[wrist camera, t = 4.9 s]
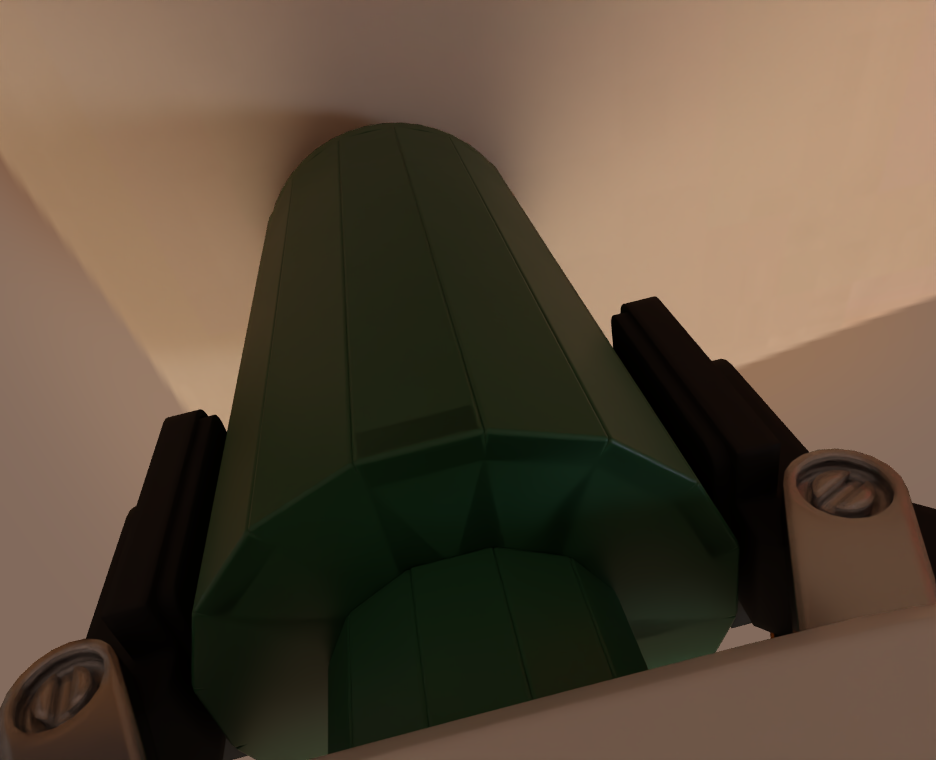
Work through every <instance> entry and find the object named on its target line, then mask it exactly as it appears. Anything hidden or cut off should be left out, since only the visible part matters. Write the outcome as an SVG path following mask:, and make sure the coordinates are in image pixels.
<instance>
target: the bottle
mask: <svg viewBox="0 0 936 760" xmlns="http://www.w3.org/2000/svg"><path fill="white" fill-rule="evenodd" d="M739 558H740V547H739V543H738V540H737V539H736V537H735V536H734V534H733V533H732V531H731V529H730V528H729V526H728V525H727V523H726V522H725V520H724V519H723V517H722V515H721V514H720V512H719V511H718V509H717V508H716V506H715V505H714V503H713V501H712V500H711V498H710V497H709V495H708V494H707V492H706V491H705V489H704V487H703V486H702V484H701V483H700V481H699V480H698V478H697V477H696V475H695V474H694V472H693V470H692V469H691V467H690V466H689V464H688V463H687V461H686V460H685V458H684V457H683V455H682V454H681V452H680V450H679V449H678V447H677V446H676V444H675V443H674V441H673V440H672V438H671V437H670V435H669V434H668V432H667V430H666V429H665V427H664V426H663V424H662V423H661V421H660V420H659V418H658V417H657V415H656V414H655V412H654V410H653V409H652V407H651V406H650V404H649V403H648V401H647V400H646V398H645V397H644V395H643V394H642V392H641V390H640V389H639V387H638V386H637V384H636V383H635V381H634V380H633V378H632V377H631V375H630V374H629V372H628V370H627V369H626V367H625V366H624V364H623V363H622V361H621V360H620V358H619V357H618V355H617V354H616V352H615V350H614V349H613V347H612V346H611V344H610V343H609V341H608V340H607V338H606V337H605V335H604V334H603V332H602V330H601V329H600V327H599V326H598V324H597V323H596V321H595V320H594V318H593V317H592V315H591V314H590V312H589V310H588V309H587V307H586V306H585V304H584V303H583V301H582V300H581V298H580V297H579V295H578V294H577V292H576V290H575V289H574V287H573V286H572V284H571V283H570V281H569V280H568V278H567V277H566V275H565V274H564V272H563V270H562V269H561V267H560V266H559V264H558V263H557V261H556V260H555V258H554V257H553V255H552V254H551V252H550V250H549V249H548V247H547V246H546V244H545V243H544V241H543V240H542V238H541V237H540V235H539V234H538V232H537V230H536V229H535V227H534V226H533V224H532V223H531V221H530V220H529V218H528V217H527V215H526V214H525V212H524V211H523V209H522V207H521V206H520V204H519V203H518V201H517V200H516V198H515V197H514V195H513V194H512V192H511V191H510V189H509V187H508V186H507V184H506V183H505V181H504V180H503V178H502V177H501V175H500V174H499V172H498V171H497V169H496V167H495V166H493V164H492V163H490V162H489V161H488V160H487V159H486V158H485V157H484V156H483V155H482V154H481V153H479V152H478V151H477V150H475V149H474V148H473V147H471V146H470V145H469V144H467V143H466V142H464V141H462V140H460V139H458V138H457V137H455V136H453V135H451V134H448V133H446V132H443V131H441V130H438V129H435V128H431V127H427V126H423V125H418V124H408V123H382V124H376V125H370V126H364V127H361V128H358V129H355V130H352V131H348V132H346V133H344V134H342V135H340V136H337V137H335V138H333V139H331V140H330V141H328V142H326V143H325V144H323V145H322V146H320V147H319V148H317V149H316V150H315V151H314V152H312V153H311V154H310V155H309V156H308V157H307V158H306V159H304V160H303V161H302V162H301V164H300V165H299V166H298V167H297V168H296V169H295V170H294V172H293V173H292V174H291V175H290V177H289V179H288V180H287V182H286V183H285V185H284V186H283V188H282V190H281V192H280V194H279V197H278V199H277V201H276V203H275V206H274V210H273V212H272V214H271V216H270V217H269V221H268V225H267V230H266V235H265V241H264V246H263V251H262V256H261V261H260V266H259V271H258V276H257V282H256V287H255V292H254V297H253V302H252V307H251V312H250V317H249V323H248V328H247V333H246V338H245V343H244V348H243V353H242V358H241V364H240V369H239V374H238V379H237V384H236V389H235V394H234V400H233V405H232V410H231V415H230V420H229V425H228V430H227V435H226V441H225V446H224V451H223V456H222V461H221V466H220V471H219V476H218V482H217V487H216V492H215V497H214V502H213V507H212V512H211V517H210V523H209V528H208V533H207V538H206V543H205V548H204V553H203V558H202V564H201V569H200V574H199V579H198V584H197V589H196V594H195V599H194V605H193V610H192V664H191V685H192V687H193V690H194V693H195V694H196V695H197V697H198V698H199V700H200V701H201V702H202V704H203V705H204V707H205V708H206V709H207V711H208V712H209V714H210V715H211V716H212V718H213V719H214V721H215V722H216V723H217V725H218V726H219V728H220V729H221V730H222V732H223V733H224V735H225V736H226V737H227V739H228V740H229V742H230V743H231V744H232V746H234V747H236V749H237V750H239V751H241V752H242V753H244V754H246V755H248V756H250V757H252V758H254V759H256V760H309V759H313V758H316V757H320V756H324V755H327V754H331V753H335V752H339V751H342V750H346V749H350V748H353V747H357V746H361V745H364V744H368V743H372V742H376V741H380V740H383V739H387V738H391V737H395V736H398V735H402V734H406V733H410V732H413V731H417V730H421V729H425V728H429V727H432V726H436V725H440V724H444V723H447V722H451V721H455V720H459V719H463V718H466V717H470V716H474V715H478V714H481V713H485V712H489V711H493V710H497V709H500V708H504V707H508V706H512V705H516V704H519V703H523V702H527V701H531V700H535V699H538V698H542V697H546V696H550V695H554V694H557V693H561V692H565V691H569V690H573V689H576V688H580V687H584V686H588V685H592V684H596V683H600V682H603V681H607V680H611V679H615V678H619V677H623V676H627V675H631V674H634V673H638V672H642V671H646V670H650V669H654V668H658V667H661V666H665V665H669V664H673V663H677V662H681V661H685V660H689V659H692V658H696V657H700V656H704V655H708V654H712V653H715V652H716V651H717V649H718V647H719V646H720V644H721V642H722V640H723V639H724V637H725V635H726V634H727V632H728V630H729V628H730V627H731V625H732V623H733V622H734V620H735V618H736V614H737V605H738V582H739Z"/></svg>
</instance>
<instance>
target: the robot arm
mask: <svg viewBox="0 0 936 760" xmlns="http://www.w3.org/2000/svg"><path fill="white" fill-rule="evenodd" d="M611 327H612V339H613V349H614V350H615V352H616V354H617V355H618V357H619V358H620V360H621V361H622V363H623V364H624V366H625V367H626V369H627V370H628V372H629V374H630V375H631V377H632V378H633V380H634V381H635V383H636V384H637V386H638V387H639V389H640V390H641V392H642V394H643V395H644V397H645V398H646V400H647V401H648V403H649V404H650V406H651V407H652V409H653V410H654V412H655V414H656V415H657V417H658V418H659V420H660V421H661V423H662V424H663V426H664V427H665V429H666V430H667V432H668V434H669V435H670V437H671V438H672V440H673V441H674V443H675V444H676V446H677V447H678V449H679V450H680V452H681V454H682V455H683V457H684V458H685V460H686V461H687V463H688V464H689V466H690V467H691V469H692V470H693V472H694V474H695V475H696V477H697V478H698V480H699V481H700V483H701V484H702V486H703V487H704V489H705V491H706V492H707V494H708V495H709V497H710V498H711V500H712V501H713V503H714V505H715V506H716V508H717V509H718V511H719V512H720V514H721V515H722V517H723V519H724V520H725V522H726V523H727V525H728V526H729V528H730V529H731V531H732V533H733V534H734V536H735V537H736V539H737V540H738V543H739V547H740V558H739V582H738V605H737V614H736V618H735V620H734V622H733V623H732V625H731V628H735V627H738V626H742V625H746V624H749V623H752V624H753V625H754V626H756V627H759V628H761V629H764V630H766V631H769V632H770V637H771V639H767V640H763V641H759V642H755V643H751V644H747V645H743V646H739V647H735V648H731V649H727V650H723V651H720V652H716V653H712V654H708V655H704V656H700V657H696V658H692V659H689V660H685V661H681V662H677V663H673V664H669V665H665V666H661V667H658V668H654V669H650V670H646V671H642V672H638V673H634V674H631V675H627V676H623V677H619V678H615V679H611V680H607V681H603V682H600V683H596V684H592V685H588V686H584V687H580V688H576V689H573V690H569V691H565V692H561V693H557V694H554V695H550V696H546V697H542V698H538V699H535V700H531V701H527V702H523V703H519V704H516V705H512V706H508V707H504V708H500V709H497V710H493V711H489V712H485V713H481V714H478V715H474V716H470V717H466V718H463V719H459V720H455V721H451V722H447V723H444V724H440V725H436V726H432V727H429V728H425V729H421V730H417V731H413V732H410V733H406V734H402V735H398V736H395V737H391V738H387V739H383V740H380V741H376V742H372V743H368V744H364V745H361V746H357V747H353V748H350V749H346V750H342V751H339V752H335V753H331V754H327V755H324V756H320V757H316V758H313V759H309V760H936V509H934V508H930V507H926V506H922V505H919V504H915V503H912V501H911V498H910V495H909V491H908V488H907V486H906V485H905V483H904V481H903V479H902V477H901V476H900V475H899V474H898V473H897V472H896V471H895V470H894V469H892V468H891V467H890V466H889V465H888V464H886V463H884V462H882V461H880V460H878V459H876V458H875V457H873V456H870V455H867V454H863V453H860V452H857V451H852V450H844V449H822V450H816V451H812V452H809V451H808V450H807V449H806V448H805V447H804V446H803V445H802V444H801V442H800V441H799V440H798V439H797V438H796V437H795V436H794V435H793V433H792V432H791V431H790V430H789V429H788V428H787V427H786V425H784V423H783V422H782V421H781V420H780V419H779V418H778V416H776V414H775V413H774V412H773V411H772V410H771V409H770V407H769V406H768V405H767V404H766V403H765V402H764V401H763V399H762V398H761V397H760V396H759V395H758V394H757V393H756V392H755V390H754V389H753V388H752V387H751V386H750V385H749V384H748V383H747V382H746V380H745V379H744V378H743V377H742V376H741V375H740V373H739V372H738V371H737V370H736V369H735V368H734V367H733V366H732V364H730V363H729V362H728V361H727V360H724V359H718V360H714V361H711V360H710V359H709V357H708V356H707V355H706V354H705V353H704V352H703V350H702V349H701V348H700V347H699V346H698V344H697V343H696V342H695V341H694V340H693V339H692V337H691V336H690V335H689V334H688V333H687V331H686V330H685V329H684V328H683V327H682V326H681V324H680V323H679V322H678V321H677V320H676V319H675V317H674V316H673V315H672V314H671V313H670V311H669V310H668V309H667V308H666V307H665V306H664V304H663V303H662V302H661V301H660V300H659V299H658V298H657V297H650V298H646V299H642V300H638V301H634V302H630V303H626V304H623V305H622V306H621V314H617V315H613V316H612V319H611ZM226 435H227V432H226V429H225V427H224V425H223V423H222V421H221V420H220V418H219V417H218V416H217V415H212V416H208V415H207V414H206V413H205V412H204V411H203V410H201V409H200V410H196V411H192V412H188V413H184V414H180V415H176V416H172V417H168V418H166V419H165V421H164V422H163V426H162V428H161V432H160V435H159V438H158V441H157V444H156V447H155V450H154V453H153V456H152V459H151V463H150V466H149V469H148V472H147V475H146V478H145V481H144V484H143V487H142V490H141V494H140V496H139V500H138V503H137V506H135V507H134V508H132V509H131V510H130V511H129V514H128V515H127V517H126V520H125V523H124V526H123V529H122V532H121V535H120V538H119V542H118V544H117V547H116V550H115V553H114V556H113V559H112V562H111V565H110V568H109V571H108V574H107V577H106V580H105V583H104V586H103V589H102V592H101V595H100V598H99V601H98V604H97V607H96V610H95V613H94V616H93V619H92V622H91V625H90V628H89V631H88V634H87V637H86V639H82V640H78V641H73V642H69V643H67V644H65V645H62V646H60V647H58V648H56V649H53V650H51V651H50V652H49V653H47V654H46V655H44V656H43V657H41V658H40V659H38V660H37V661H36V662H34V663H33V664H32V665H31V666H30V667H29V668H28V669H27V670H26V671H25V672H24V673H23V674H21V676H19V678H18V679H17V680H16V682H15V683H14V684H13V686H12V687H11V688H10V690H9V691H8V693H7V694H6V697H5V699H4V701H3V703H2V706H1V707H0V760H233V759H237V758H241V757H244V756H248V755H246V754H244V753H242V752H241V751H239V750H237V749H236V747H234V746H232V744H231V743H230V742H229V740H228V739H227V737H226V736H225V735H224V733H223V732H222V730H221V729H220V728H219V726H218V725H217V723H216V722H215V721H214V719H213V718H212V716H211V715H210V714H209V712H208V711H207V709H206V708H205V707H204V705H203V704H202V702H201V701H200V700H199V698H198V697H197V695H196V694H195V693H194V690H193V687H192V685H191V664H192V610H193V605H194V599H195V594H196V589H197V584H198V579H199V574H200V569H201V564H202V558H203V553H204V548H205V543H206V538H207V533H208V528H209V523H210V517H211V512H212V507H213V502H214V497H215V492H216V487H217V482H218V476H219V471H220V466H221V461H222V456H223V451H224V446H225V441H226Z"/></svg>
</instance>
